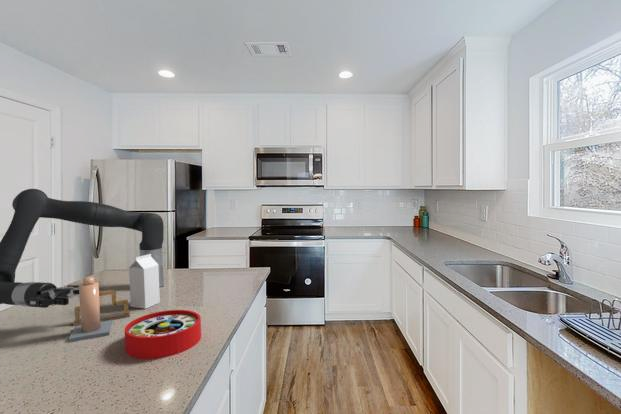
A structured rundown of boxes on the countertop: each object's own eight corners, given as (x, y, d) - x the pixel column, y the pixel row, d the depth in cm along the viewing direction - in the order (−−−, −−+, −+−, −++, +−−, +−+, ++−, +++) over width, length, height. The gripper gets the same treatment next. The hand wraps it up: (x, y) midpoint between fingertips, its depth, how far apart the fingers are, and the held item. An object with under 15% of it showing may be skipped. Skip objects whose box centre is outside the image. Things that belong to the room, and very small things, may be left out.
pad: (111, 323, 110) (111, 320, 110) (109, 335, 101) (109, 331, 101) (75, 329, 105) (74, 326, 105) (68, 342, 96) (68, 338, 96)
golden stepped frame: (129, 314, 118) (128, 287, 117) (129, 316, 115) (128, 289, 115) (75, 322, 111) (73, 294, 110) (73, 325, 108) (71, 296, 108)
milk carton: (160, 303, 129) (158, 254, 128) (145, 309, 122) (143, 258, 121) (145, 301, 131) (143, 253, 130) (130, 307, 125) (128, 256, 124)
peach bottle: (101, 324, 106) (99, 274, 106) (99, 330, 102) (97, 278, 101) (82, 327, 104) (80, 277, 103) (80, 333, 100) (77, 280, 99)
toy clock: (108, 338, 86) (145, 310, 106) (109, 360, 86) (145, 328, 106) (187, 337, 86) (208, 309, 106) (188, 359, 87) (209, 327, 107)
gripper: (10, 289, 98) (58, 291, 96) (54, 276, 113) (97, 278, 110) (12, 314, 99) (59, 317, 96) (56, 298, 113) (98, 300, 110)
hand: (79, 296), depth 103 cm, fingers open, 8 cm apart
